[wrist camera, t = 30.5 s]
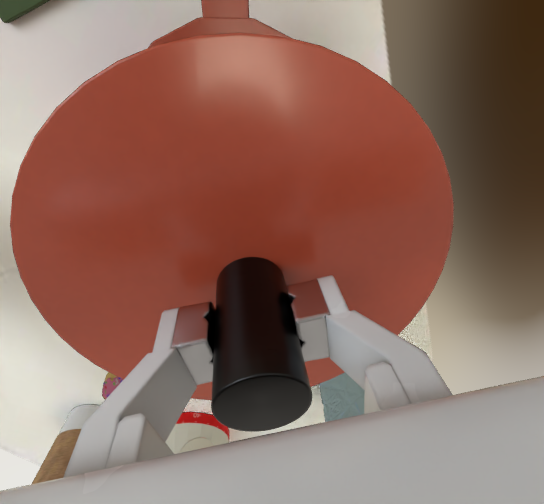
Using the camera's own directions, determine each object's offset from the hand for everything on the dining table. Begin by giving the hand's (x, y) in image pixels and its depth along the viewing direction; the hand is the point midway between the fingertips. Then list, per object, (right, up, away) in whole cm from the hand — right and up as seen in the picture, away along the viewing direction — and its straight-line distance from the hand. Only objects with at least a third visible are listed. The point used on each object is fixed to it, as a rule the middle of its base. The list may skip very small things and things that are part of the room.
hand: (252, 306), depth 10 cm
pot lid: (0, +1, +1) cm, 2 cm away
